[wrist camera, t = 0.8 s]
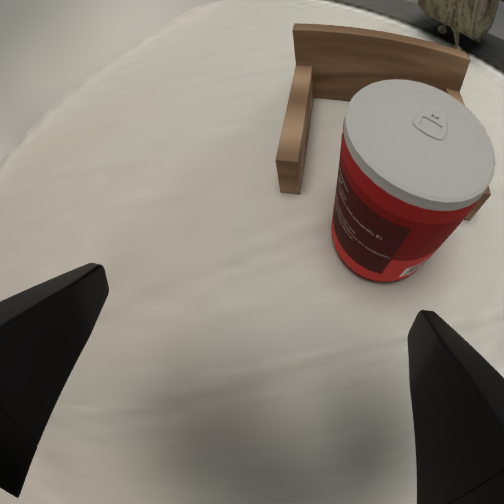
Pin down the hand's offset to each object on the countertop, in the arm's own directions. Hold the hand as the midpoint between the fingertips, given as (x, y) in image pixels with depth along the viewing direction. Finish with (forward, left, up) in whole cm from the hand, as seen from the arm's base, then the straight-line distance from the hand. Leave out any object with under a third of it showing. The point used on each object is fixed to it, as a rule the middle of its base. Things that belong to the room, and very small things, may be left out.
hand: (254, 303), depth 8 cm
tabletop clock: (+36, -35, -13) cm, 52 cm away
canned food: (+6, -8, -13) cm, 17 cm away
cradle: (+14, -11, -13) cm, 22 cm away
